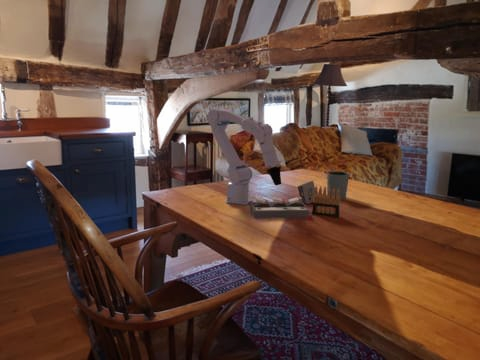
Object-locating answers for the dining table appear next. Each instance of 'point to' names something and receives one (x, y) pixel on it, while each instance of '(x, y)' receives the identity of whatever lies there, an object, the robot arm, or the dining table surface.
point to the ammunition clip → (326, 203)
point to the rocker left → (261, 200)
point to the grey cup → (338, 182)
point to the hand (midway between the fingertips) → (278, 184)
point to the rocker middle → (278, 200)
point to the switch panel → (279, 210)
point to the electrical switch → (307, 192)
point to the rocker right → (295, 200)
